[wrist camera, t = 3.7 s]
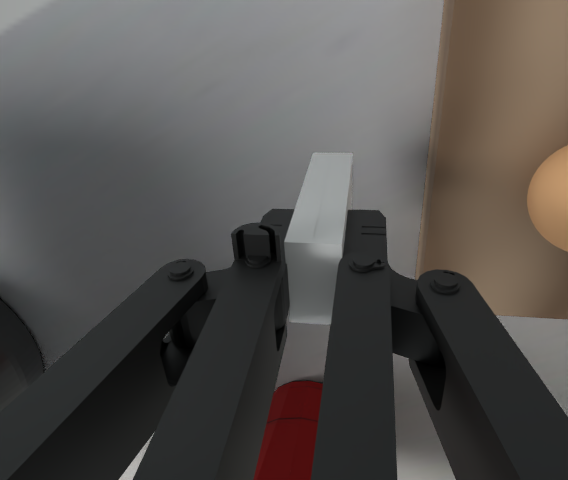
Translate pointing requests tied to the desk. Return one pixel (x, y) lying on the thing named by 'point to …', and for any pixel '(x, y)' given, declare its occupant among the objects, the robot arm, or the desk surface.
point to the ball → (551, 199)
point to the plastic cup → (290, 433)
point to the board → (497, 151)
